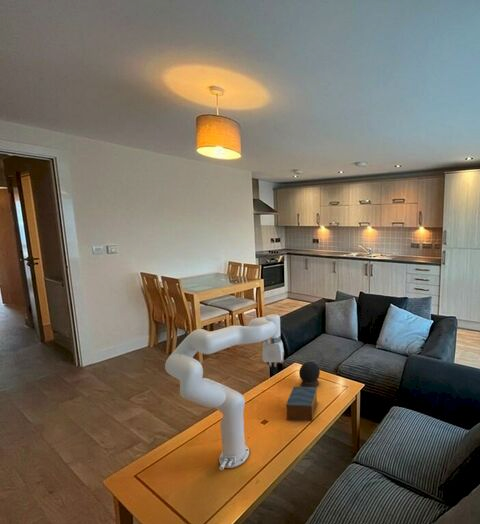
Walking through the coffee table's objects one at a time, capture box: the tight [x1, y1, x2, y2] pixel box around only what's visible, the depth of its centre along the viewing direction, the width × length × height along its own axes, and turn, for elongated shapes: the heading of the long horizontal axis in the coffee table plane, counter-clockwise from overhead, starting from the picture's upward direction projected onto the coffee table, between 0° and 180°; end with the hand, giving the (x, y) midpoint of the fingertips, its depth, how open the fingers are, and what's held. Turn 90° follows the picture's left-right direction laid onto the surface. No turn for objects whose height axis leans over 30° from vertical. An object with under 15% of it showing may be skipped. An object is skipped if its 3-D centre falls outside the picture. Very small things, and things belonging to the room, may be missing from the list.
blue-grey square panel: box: [285, 386, 318, 407], centre depth 159 cm, size 16×14×1 cm
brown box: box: [286, 388, 318, 422], centre depth 160 cm, size 16×14×9 cm
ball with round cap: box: [298, 361, 321, 388], centre depth 185 cm, size 13×13×15 cm
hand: (274, 372), depth 146 cm, fingers closed
